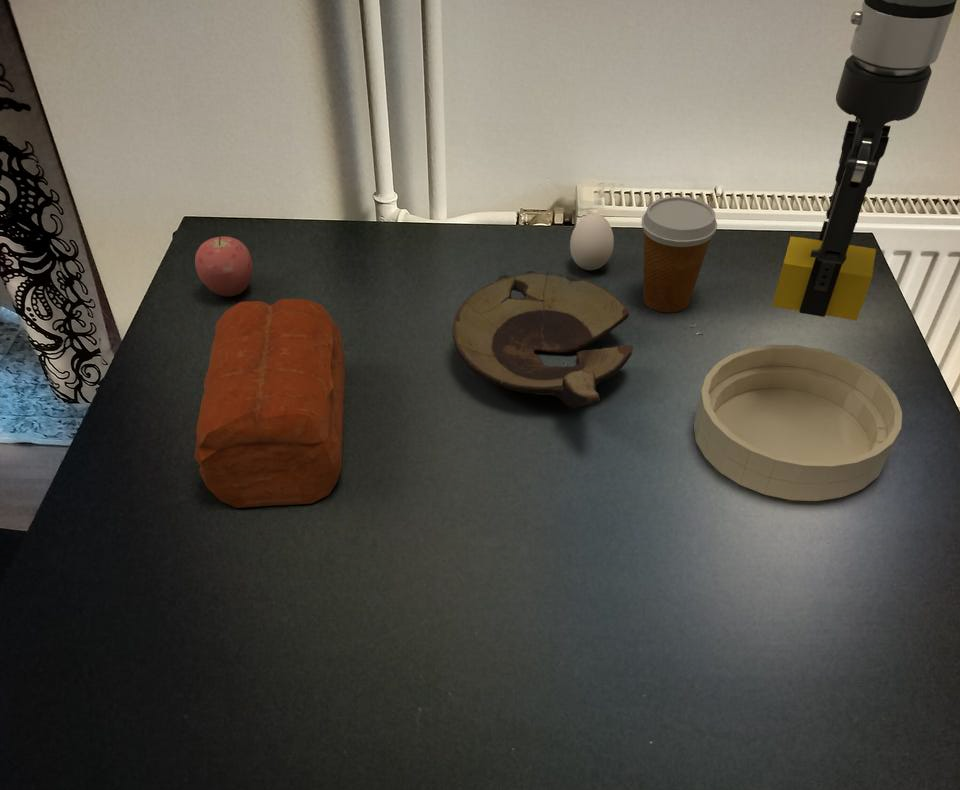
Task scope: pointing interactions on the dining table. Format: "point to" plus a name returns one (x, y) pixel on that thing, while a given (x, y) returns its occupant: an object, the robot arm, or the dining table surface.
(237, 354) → the bread
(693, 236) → the disposable coffee cup
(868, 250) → the sponge
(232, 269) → the apple
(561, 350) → the broken ceramic plate
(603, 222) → the egg
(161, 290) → the dining table surface
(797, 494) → the bowl
